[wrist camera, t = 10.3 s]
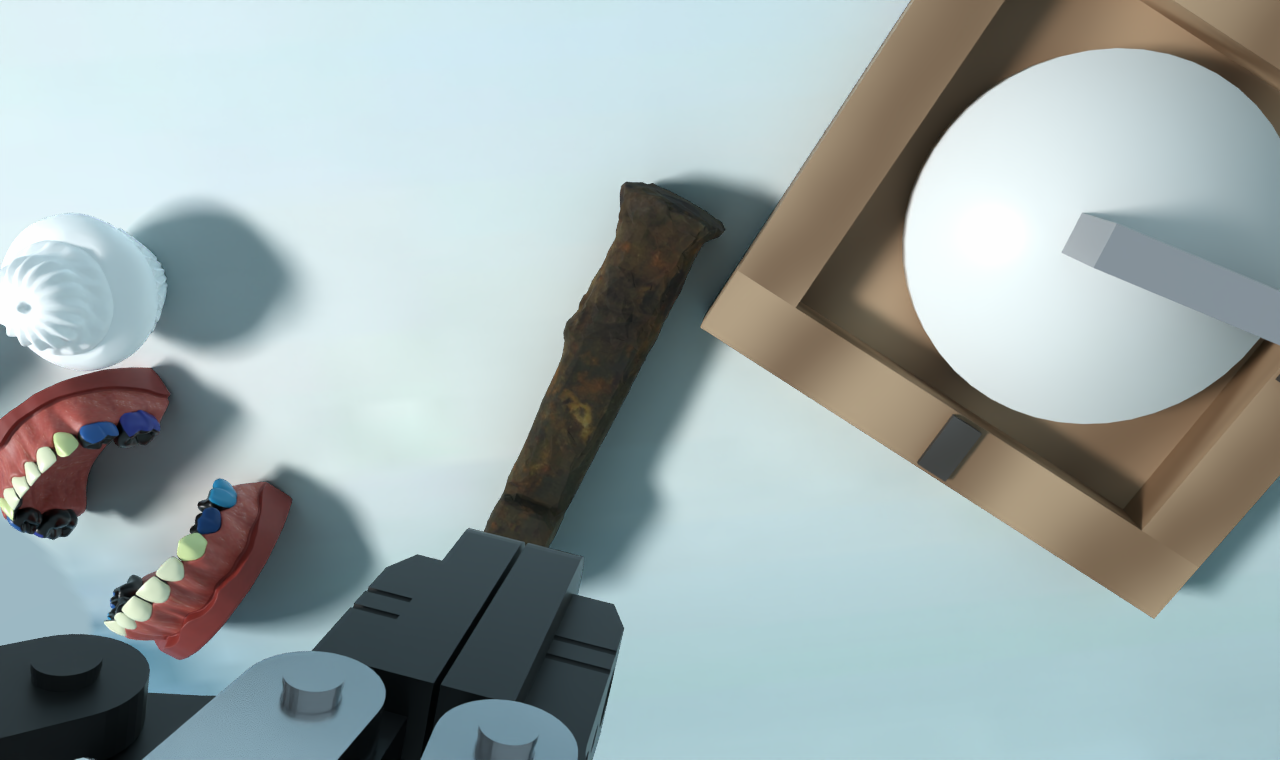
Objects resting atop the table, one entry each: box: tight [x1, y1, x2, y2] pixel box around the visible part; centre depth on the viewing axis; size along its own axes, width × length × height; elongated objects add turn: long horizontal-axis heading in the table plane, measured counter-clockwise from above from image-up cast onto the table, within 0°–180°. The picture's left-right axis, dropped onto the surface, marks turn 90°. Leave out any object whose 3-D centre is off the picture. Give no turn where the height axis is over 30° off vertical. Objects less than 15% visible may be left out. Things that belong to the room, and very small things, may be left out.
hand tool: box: [484, 182, 725, 548], centre depth 41 cm, size 19×4×5 cm, turn 152°
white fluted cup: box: [0, 213, 168, 371], centre depth 41 cm, size 6×6×7 cm
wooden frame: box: [700, 0, 1280, 618], centre depth 37 cm, size 20×20×3 cm
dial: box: [902, 48, 1280, 424], centre depth 35 cm, size 13×13×6 cm
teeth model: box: [0, 368, 292, 660], centre depth 44 cm, size 8×6×12 cm
